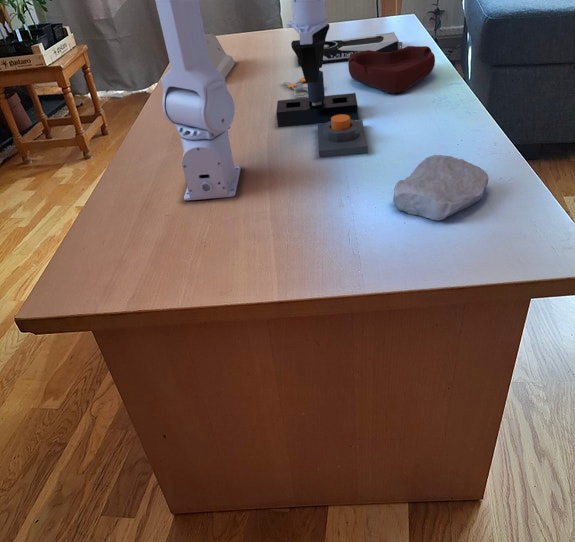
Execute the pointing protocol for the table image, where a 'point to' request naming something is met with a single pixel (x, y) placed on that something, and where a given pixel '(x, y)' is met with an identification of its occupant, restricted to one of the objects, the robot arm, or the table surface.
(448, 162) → the stone block
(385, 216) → the table surface
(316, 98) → the grey and white cylinder
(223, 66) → the hinge
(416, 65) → the ashtray
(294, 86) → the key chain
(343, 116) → the power button
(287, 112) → the holder
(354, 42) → the graphics card
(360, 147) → the station
